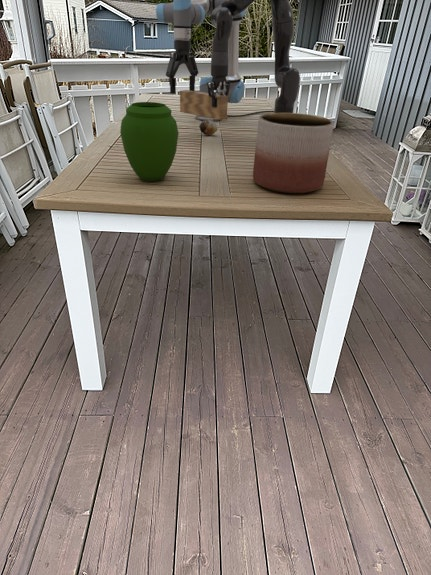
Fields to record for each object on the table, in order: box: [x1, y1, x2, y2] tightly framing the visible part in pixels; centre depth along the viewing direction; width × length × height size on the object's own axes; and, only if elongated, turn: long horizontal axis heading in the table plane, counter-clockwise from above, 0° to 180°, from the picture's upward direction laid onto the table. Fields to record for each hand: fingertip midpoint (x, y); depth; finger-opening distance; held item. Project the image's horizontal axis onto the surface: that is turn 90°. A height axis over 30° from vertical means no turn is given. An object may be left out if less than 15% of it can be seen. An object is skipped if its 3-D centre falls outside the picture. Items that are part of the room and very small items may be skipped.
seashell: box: [198, 119, 219, 136], centre depth 209 cm, size 10×6×8 cm, turn 97°
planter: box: [252, 112, 335, 194], centre depth 142 cm, size 25×25×22 cm
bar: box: [179, 89, 229, 121], centre depth 188 cm, size 25×5×9 cm, turn 51°
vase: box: [119, 101, 179, 182], centre depth 140 cm, size 20×20×24 cm
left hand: (182, 92), depth 193 cm, fingers open, 13 cm apart
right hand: (218, 106), depth 184 cm, fingers closed on bar, 4 cm apart
